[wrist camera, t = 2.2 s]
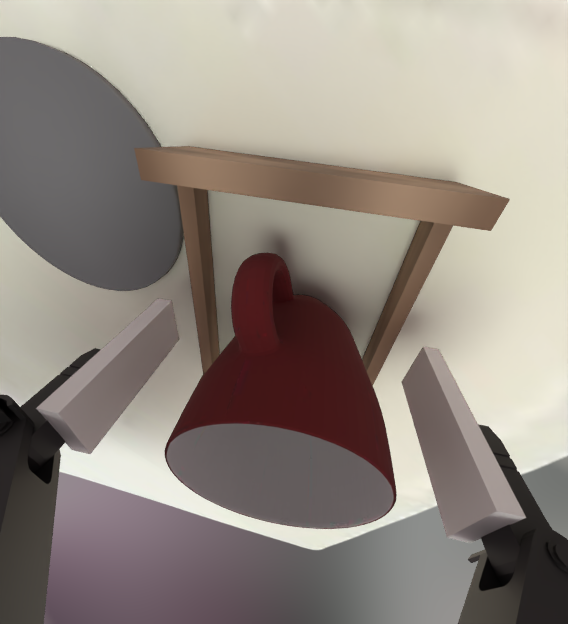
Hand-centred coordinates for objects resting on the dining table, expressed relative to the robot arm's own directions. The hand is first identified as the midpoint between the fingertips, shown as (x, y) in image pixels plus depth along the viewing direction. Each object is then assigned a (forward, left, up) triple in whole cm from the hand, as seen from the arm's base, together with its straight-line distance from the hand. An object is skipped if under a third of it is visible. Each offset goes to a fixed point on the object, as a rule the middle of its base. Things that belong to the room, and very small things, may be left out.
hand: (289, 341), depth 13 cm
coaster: (-13, +5, -4) cm, 15 cm away
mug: (0, 0, -4) cm, 4 cm away
